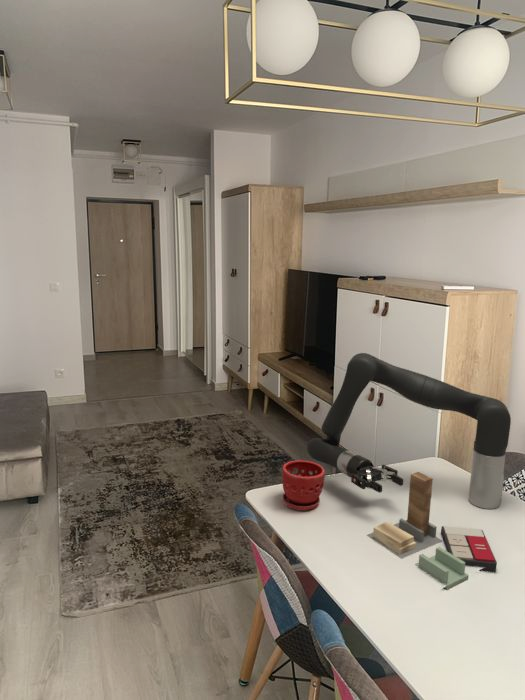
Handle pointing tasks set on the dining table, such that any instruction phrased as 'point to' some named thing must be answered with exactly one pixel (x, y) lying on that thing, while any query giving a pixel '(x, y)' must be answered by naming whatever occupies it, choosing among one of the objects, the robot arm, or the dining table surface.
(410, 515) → the tall board
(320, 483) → the plant pot
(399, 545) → the offcut stack
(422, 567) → the board holder
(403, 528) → the rack
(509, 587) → the dining table surface
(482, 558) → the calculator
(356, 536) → the dining table surface
